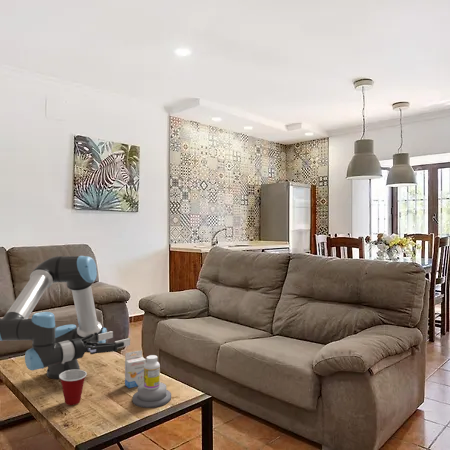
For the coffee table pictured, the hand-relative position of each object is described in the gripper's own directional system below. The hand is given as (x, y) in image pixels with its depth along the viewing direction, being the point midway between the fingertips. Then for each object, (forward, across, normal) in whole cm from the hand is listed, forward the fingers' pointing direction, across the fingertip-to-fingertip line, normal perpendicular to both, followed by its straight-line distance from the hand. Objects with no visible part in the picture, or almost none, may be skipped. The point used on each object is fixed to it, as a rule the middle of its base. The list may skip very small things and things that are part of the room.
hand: (120, 337), depth 165 cm
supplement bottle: (+10, +7, -22) cm, 25 cm away
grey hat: (+10, +7, -27) cm, 30 cm away
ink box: (+14, -11, -27) cm, 33 cm away
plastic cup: (-15, -13, -27) cm, 33 cm away
